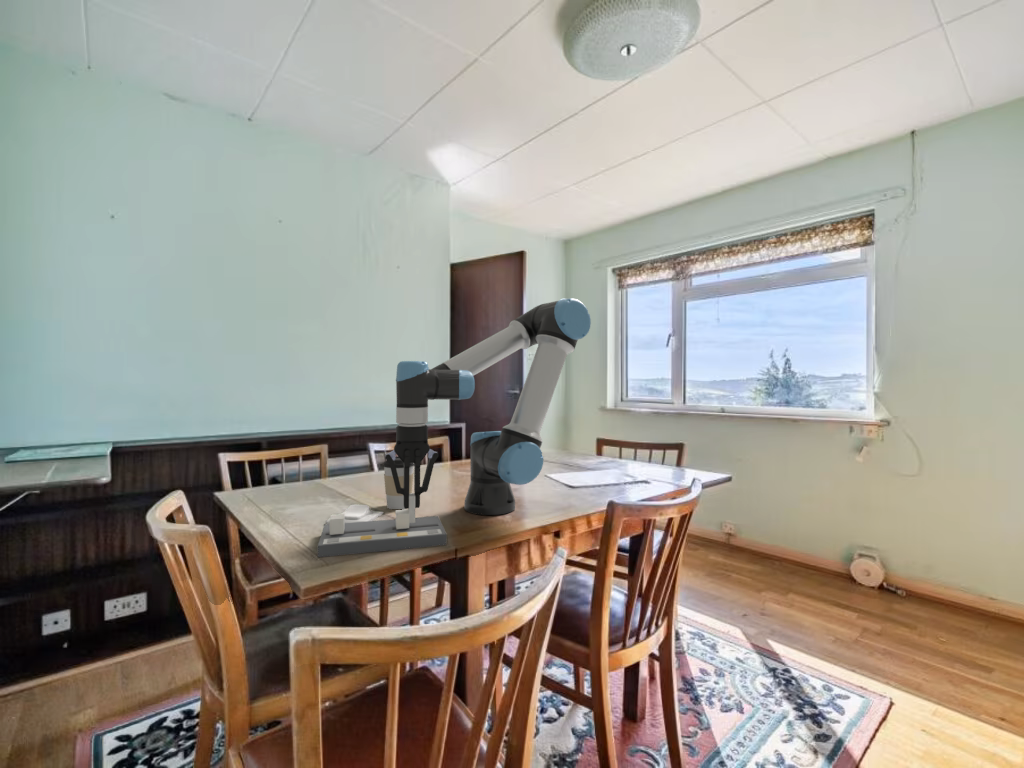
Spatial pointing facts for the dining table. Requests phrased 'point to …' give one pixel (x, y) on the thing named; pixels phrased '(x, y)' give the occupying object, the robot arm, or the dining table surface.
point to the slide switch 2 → (402, 519)
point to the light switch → (359, 514)
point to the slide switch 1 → (337, 524)
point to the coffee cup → (391, 495)
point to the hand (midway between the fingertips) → (411, 521)
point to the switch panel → (382, 536)
